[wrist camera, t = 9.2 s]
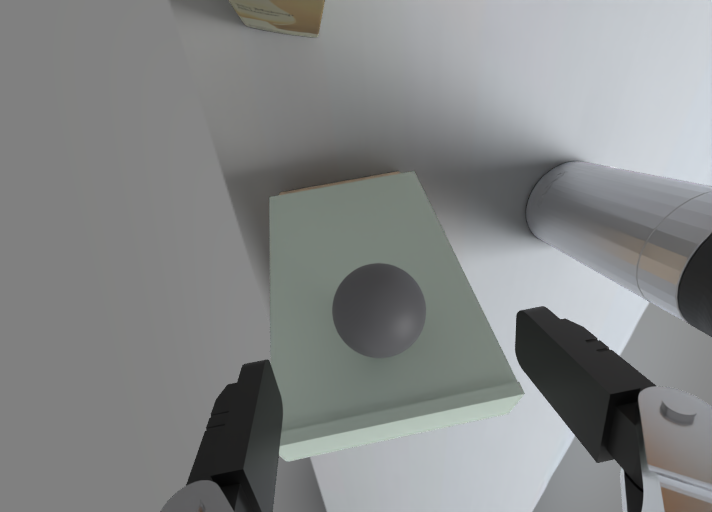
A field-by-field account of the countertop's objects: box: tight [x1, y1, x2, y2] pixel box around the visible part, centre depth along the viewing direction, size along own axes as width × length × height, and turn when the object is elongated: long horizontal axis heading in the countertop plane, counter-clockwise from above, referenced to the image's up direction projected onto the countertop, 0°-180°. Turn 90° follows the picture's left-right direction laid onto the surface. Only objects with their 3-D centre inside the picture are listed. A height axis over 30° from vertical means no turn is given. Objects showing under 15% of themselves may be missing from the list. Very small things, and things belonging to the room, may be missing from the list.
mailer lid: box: [269, 171, 525, 462], centre depth 22 cm, size 19×12×9 cm
